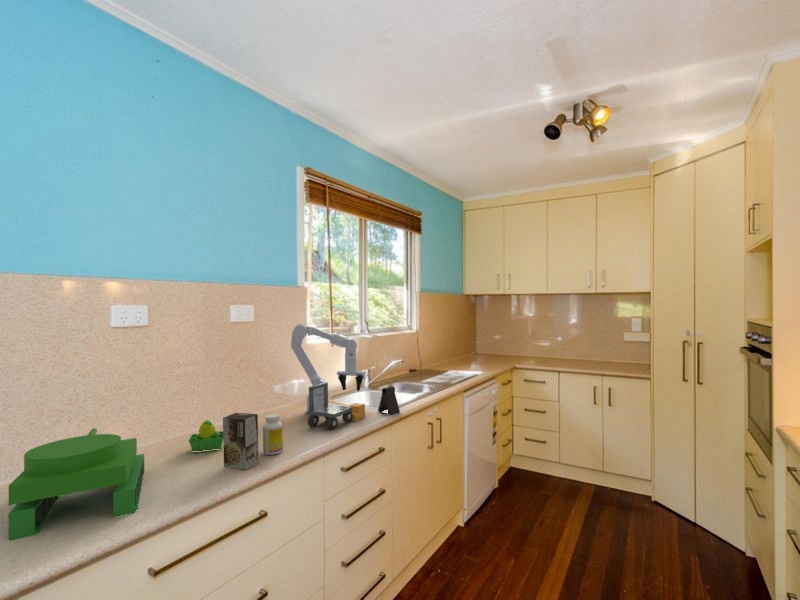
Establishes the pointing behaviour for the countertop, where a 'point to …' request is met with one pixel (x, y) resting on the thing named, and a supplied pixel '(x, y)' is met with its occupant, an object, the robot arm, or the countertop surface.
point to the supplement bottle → (272, 435)
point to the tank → (74, 477)
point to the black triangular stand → (389, 401)
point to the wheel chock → (358, 411)
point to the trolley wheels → (329, 420)
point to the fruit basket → (206, 438)
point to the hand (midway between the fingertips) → (351, 390)
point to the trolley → (325, 404)
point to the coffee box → (240, 440)
